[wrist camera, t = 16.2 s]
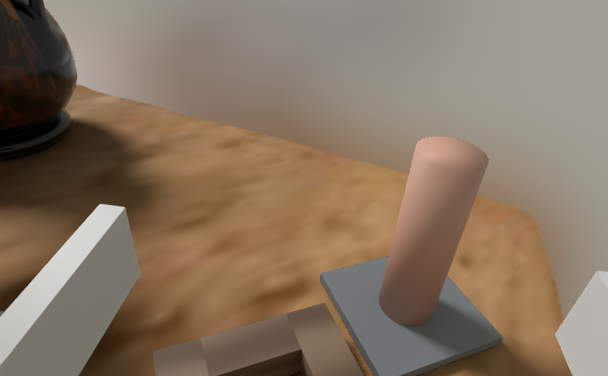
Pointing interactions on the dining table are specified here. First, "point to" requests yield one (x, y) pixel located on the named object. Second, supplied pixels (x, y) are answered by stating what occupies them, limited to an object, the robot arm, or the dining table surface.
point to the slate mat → (400, 338)
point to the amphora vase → (33, 78)
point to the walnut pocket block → (265, 349)
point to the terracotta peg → (430, 226)
